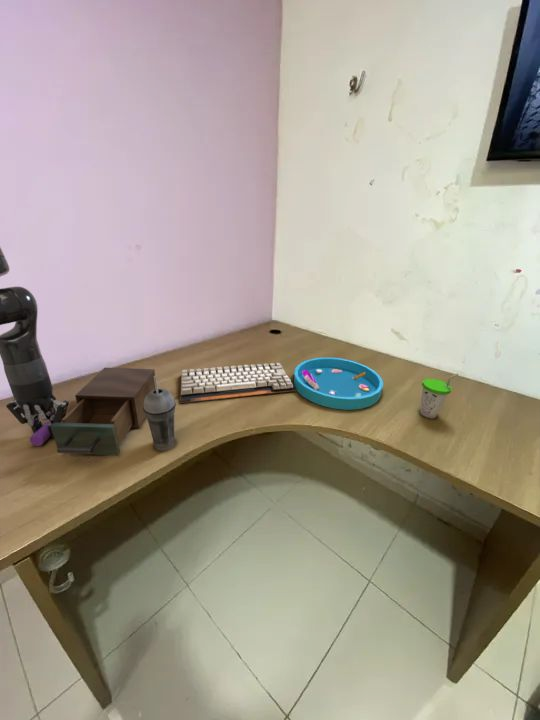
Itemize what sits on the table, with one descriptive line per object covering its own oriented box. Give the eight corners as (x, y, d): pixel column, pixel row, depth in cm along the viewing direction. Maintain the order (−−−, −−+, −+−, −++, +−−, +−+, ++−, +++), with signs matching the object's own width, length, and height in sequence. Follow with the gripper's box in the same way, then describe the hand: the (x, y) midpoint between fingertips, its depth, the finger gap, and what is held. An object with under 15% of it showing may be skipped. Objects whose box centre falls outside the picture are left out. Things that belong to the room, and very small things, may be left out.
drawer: (109, 468, 68) (102, 440, 65) (46, 466, 68) (36, 438, 65) (141, 417, 85) (137, 393, 82) (91, 416, 85) (85, 391, 82)
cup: (409, 412, 95) (421, 368, 89) (422, 404, 100) (434, 362, 93) (434, 425, 90) (449, 379, 83) (446, 416, 94) (461, 372, 88)
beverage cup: (180, 434, 81) (174, 365, 73) (178, 453, 75) (170, 380, 66) (151, 436, 80) (141, 367, 72) (146, 455, 74) (134, 382, 65)
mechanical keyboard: (180, 404, 94) (179, 394, 92) (180, 375, 111) (179, 367, 109) (297, 392, 103) (298, 383, 102) (280, 367, 120) (281, 359, 119)
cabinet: (139, 428, 83) (133, 397, 79) (83, 426, 82) (74, 395, 78) (158, 396, 97) (154, 369, 93) (110, 395, 97) (104, 367, 92)
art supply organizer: (283, 369, 118) (284, 355, 116) (354, 364, 125) (357, 350, 123) (311, 414, 92) (313, 397, 89) (399, 404, 99) (403, 388, 96)
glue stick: (45, 443, 75) (36, 434, 73) (36, 447, 75) (26, 438, 74) (64, 424, 81) (56, 415, 80) (55, 428, 82) (46, 420, 81)
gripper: (68, 369, 75) (84, 427, 82) (9, 367, 74) (30, 425, 82) (49, 384, 68) (67, 446, 75) (-17, 382, 68) (8, 445, 75)
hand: (47, 435), depth 78 cm, fingers closed on glue stick, 3 cm apart
